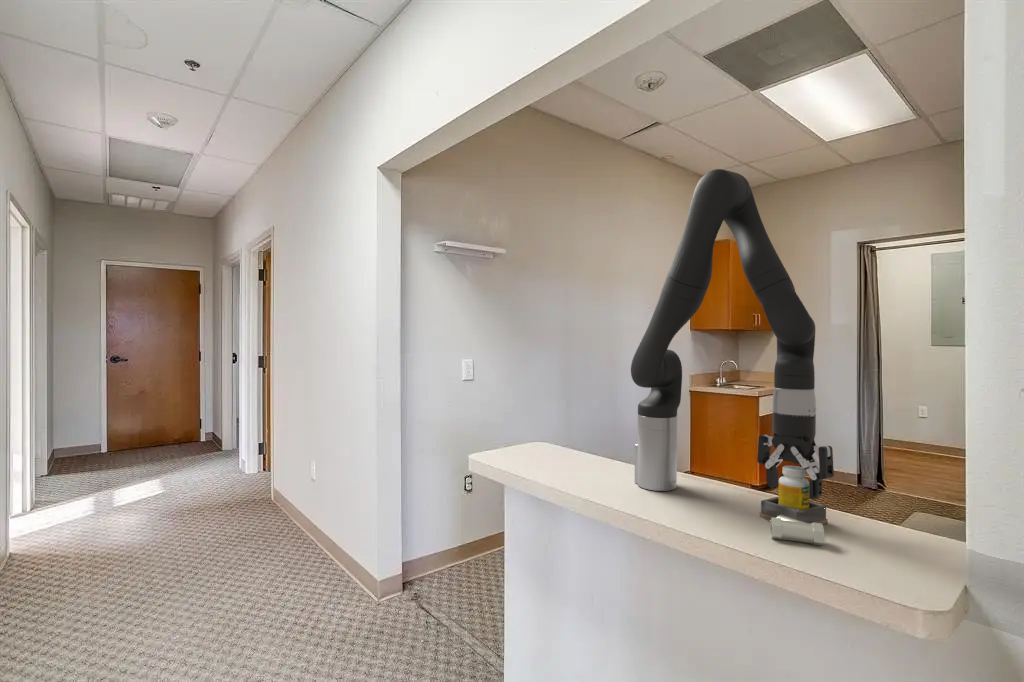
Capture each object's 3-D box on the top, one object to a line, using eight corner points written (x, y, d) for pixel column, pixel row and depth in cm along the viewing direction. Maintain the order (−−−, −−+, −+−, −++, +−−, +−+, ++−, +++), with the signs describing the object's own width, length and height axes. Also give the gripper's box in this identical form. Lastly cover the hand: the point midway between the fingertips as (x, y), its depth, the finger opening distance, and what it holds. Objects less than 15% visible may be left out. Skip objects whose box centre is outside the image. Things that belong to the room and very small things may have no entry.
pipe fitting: (769, 531, 97) (772, 541, 91) (769, 510, 98) (772, 519, 91) (818, 538, 94) (824, 549, 88) (818, 516, 94) (824, 526, 88)
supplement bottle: (782, 509, 106) (782, 462, 106) (811, 515, 102) (812, 467, 102) (775, 516, 102) (775, 467, 101) (805, 522, 98) (805, 472, 98)
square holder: (759, 516, 104) (759, 500, 104) (785, 510, 108) (785, 494, 108) (800, 530, 96) (801, 513, 96) (827, 523, 100) (827, 506, 100)
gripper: (749, 407, 106) (748, 486, 106) (818, 417, 94) (818, 505, 94) (772, 405, 110) (771, 481, 110) (842, 414, 97) (841, 499, 97)
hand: (793, 492), depth 102 cm, fingers open, 8 cm apart
